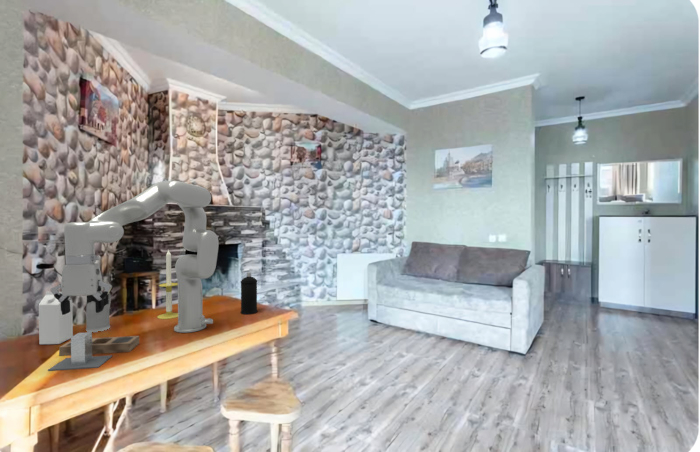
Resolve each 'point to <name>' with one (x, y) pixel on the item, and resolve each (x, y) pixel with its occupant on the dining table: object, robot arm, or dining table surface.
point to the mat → (94, 363)
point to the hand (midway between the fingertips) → (83, 312)
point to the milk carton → (54, 321)
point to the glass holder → (97, 314)
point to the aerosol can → (248, 295)
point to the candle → (168, 290)
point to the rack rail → (106, 345)
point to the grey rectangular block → (81, 348)
